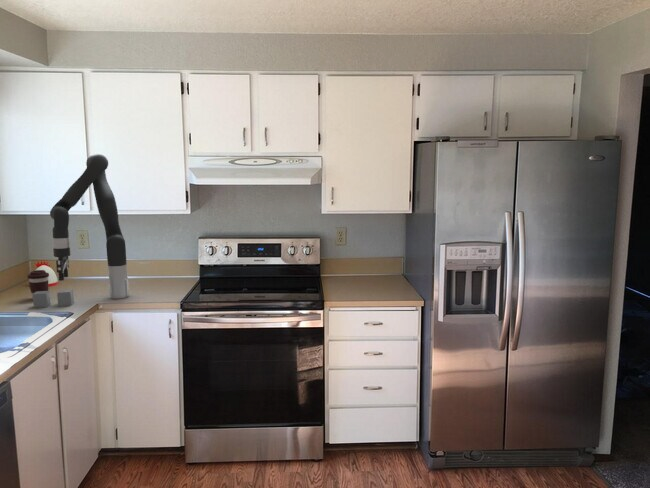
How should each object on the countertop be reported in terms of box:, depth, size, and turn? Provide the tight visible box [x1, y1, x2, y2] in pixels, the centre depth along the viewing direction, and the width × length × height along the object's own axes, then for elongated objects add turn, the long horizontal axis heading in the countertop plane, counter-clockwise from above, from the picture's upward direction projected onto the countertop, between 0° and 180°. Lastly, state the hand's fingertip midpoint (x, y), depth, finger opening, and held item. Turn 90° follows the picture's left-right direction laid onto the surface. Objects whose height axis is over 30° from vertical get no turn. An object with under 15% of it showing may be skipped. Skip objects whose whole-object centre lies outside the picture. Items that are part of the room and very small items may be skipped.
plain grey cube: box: [32, 290, 51, 309], centre depth 264 cm, size 6×6×7 cm
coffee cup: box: [26, 269, 49, 300], centre depth 277 cm, size 10×10×15 cm
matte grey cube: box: [57, 289, 75, 307], centre depth 266 cm, size 6×6×7 cm
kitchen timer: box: [34, 259, 59, 288], centre depth 311 cm, size 14×14×15 cm
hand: (63, 278), depth 265 cm, fingers open, 8 cm apart
